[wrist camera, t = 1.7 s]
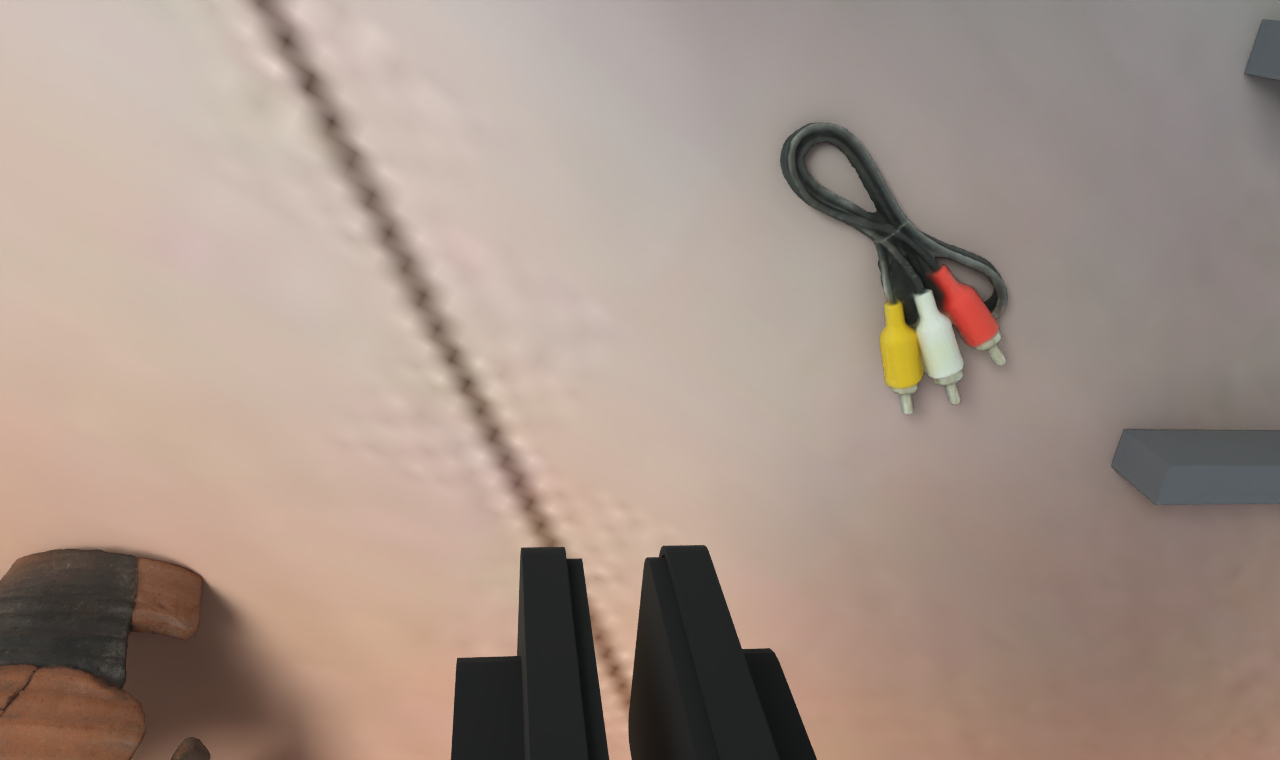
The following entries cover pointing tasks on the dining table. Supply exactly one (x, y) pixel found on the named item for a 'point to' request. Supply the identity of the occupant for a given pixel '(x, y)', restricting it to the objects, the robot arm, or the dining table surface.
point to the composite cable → (905, 274)
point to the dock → (1209, 457)
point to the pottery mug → (84, 651)
